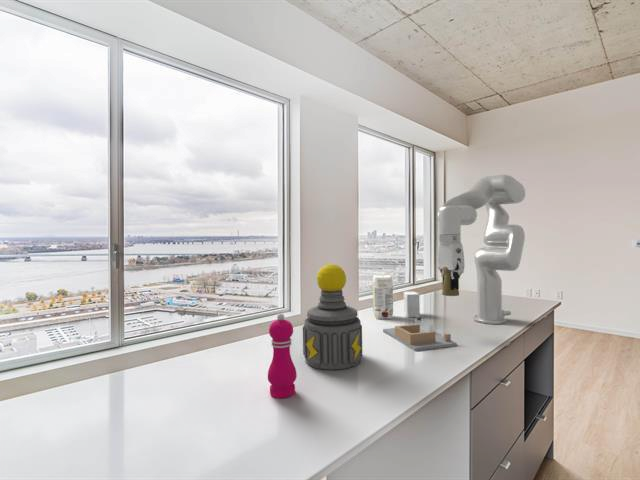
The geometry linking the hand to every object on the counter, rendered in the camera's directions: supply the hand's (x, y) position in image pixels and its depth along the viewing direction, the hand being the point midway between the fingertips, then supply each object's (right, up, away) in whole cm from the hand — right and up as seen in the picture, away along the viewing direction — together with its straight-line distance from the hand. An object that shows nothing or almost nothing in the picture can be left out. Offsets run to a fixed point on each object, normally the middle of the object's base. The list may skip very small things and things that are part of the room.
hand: (450, 288), depth 135 cm
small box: (-6, -17, +34) cm, 39 cm away
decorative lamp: (-44, -20, -21) cm, 53 cm away
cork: (0, -2, 0) cm, 3 cm away
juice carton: (-20, -18, +31) cm, 41 cm away
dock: (-13, -18, -1) cm, 22 cm away
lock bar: (-8, -17, +6) cm, 20 cm away
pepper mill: (-58, -21, -44) cm, 75 cm away
